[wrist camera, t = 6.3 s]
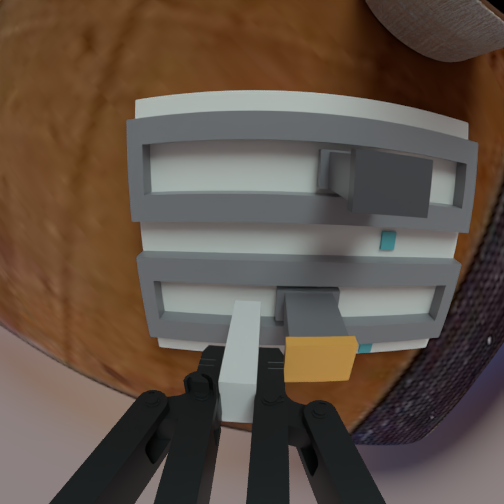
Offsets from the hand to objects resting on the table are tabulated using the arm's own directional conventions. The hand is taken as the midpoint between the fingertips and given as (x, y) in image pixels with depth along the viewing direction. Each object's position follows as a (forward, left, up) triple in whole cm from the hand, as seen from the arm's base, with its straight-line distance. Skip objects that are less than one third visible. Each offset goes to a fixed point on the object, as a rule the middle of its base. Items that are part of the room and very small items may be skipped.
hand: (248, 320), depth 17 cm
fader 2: (-9, +6, -2) cm, 11 cm away
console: (-4, +4, -5) cm, 7 cm away
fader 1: (0, +4, -2) cm, 4 cm away
